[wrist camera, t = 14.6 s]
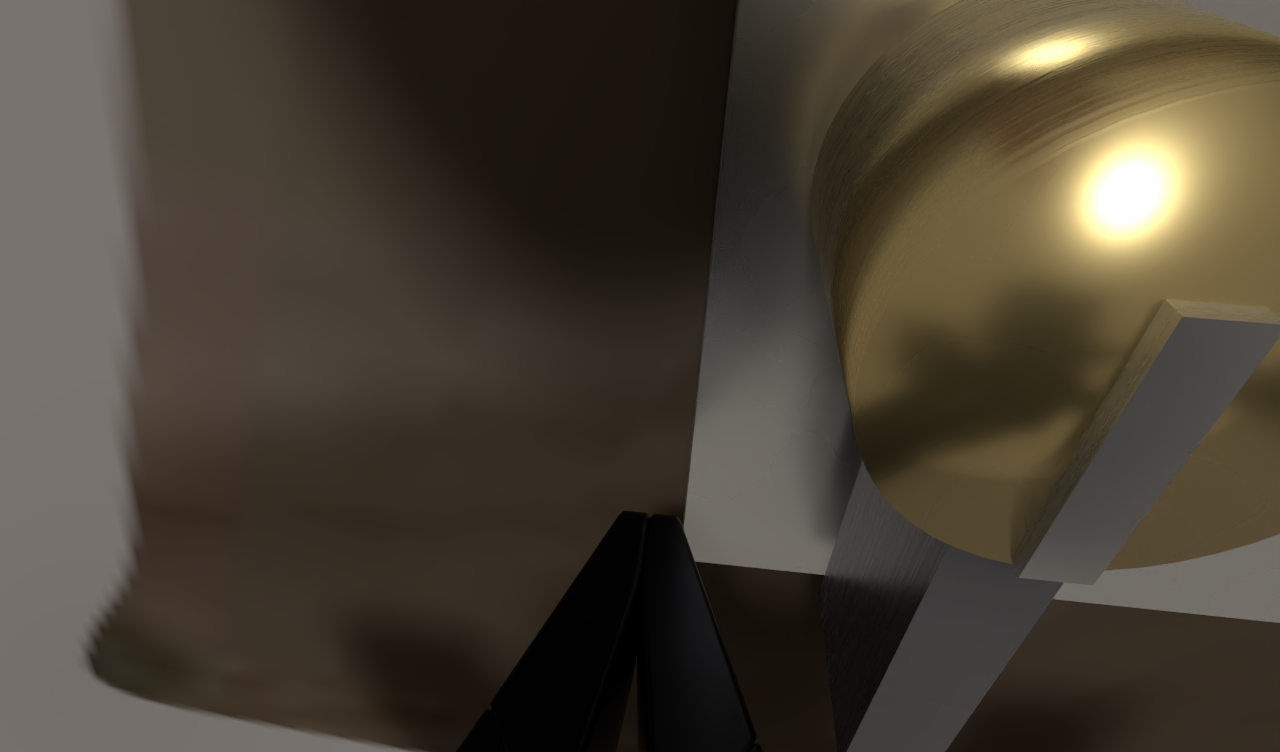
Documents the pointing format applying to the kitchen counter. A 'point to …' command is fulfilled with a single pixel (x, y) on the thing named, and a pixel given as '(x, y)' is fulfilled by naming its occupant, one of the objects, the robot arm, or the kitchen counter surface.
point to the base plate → (802, 328)
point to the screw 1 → (1041, 331)
